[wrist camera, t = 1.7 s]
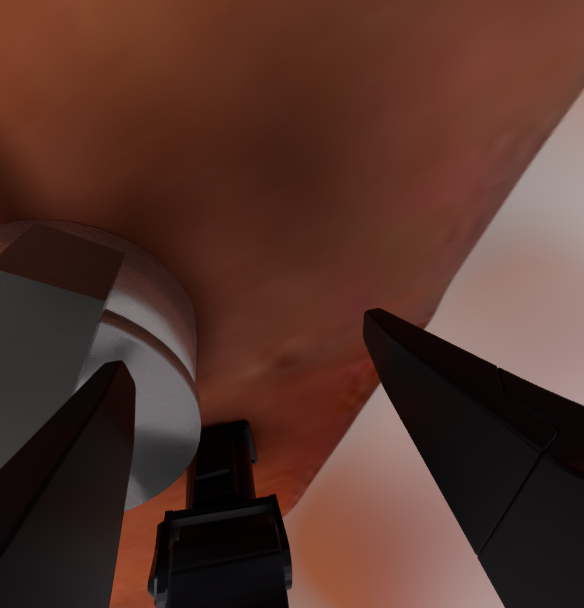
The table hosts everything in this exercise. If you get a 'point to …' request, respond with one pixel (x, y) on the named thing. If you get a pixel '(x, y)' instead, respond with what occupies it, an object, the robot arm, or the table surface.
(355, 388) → the table surface
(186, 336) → the cooker pot
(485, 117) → the table surface
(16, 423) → the cooker lid
